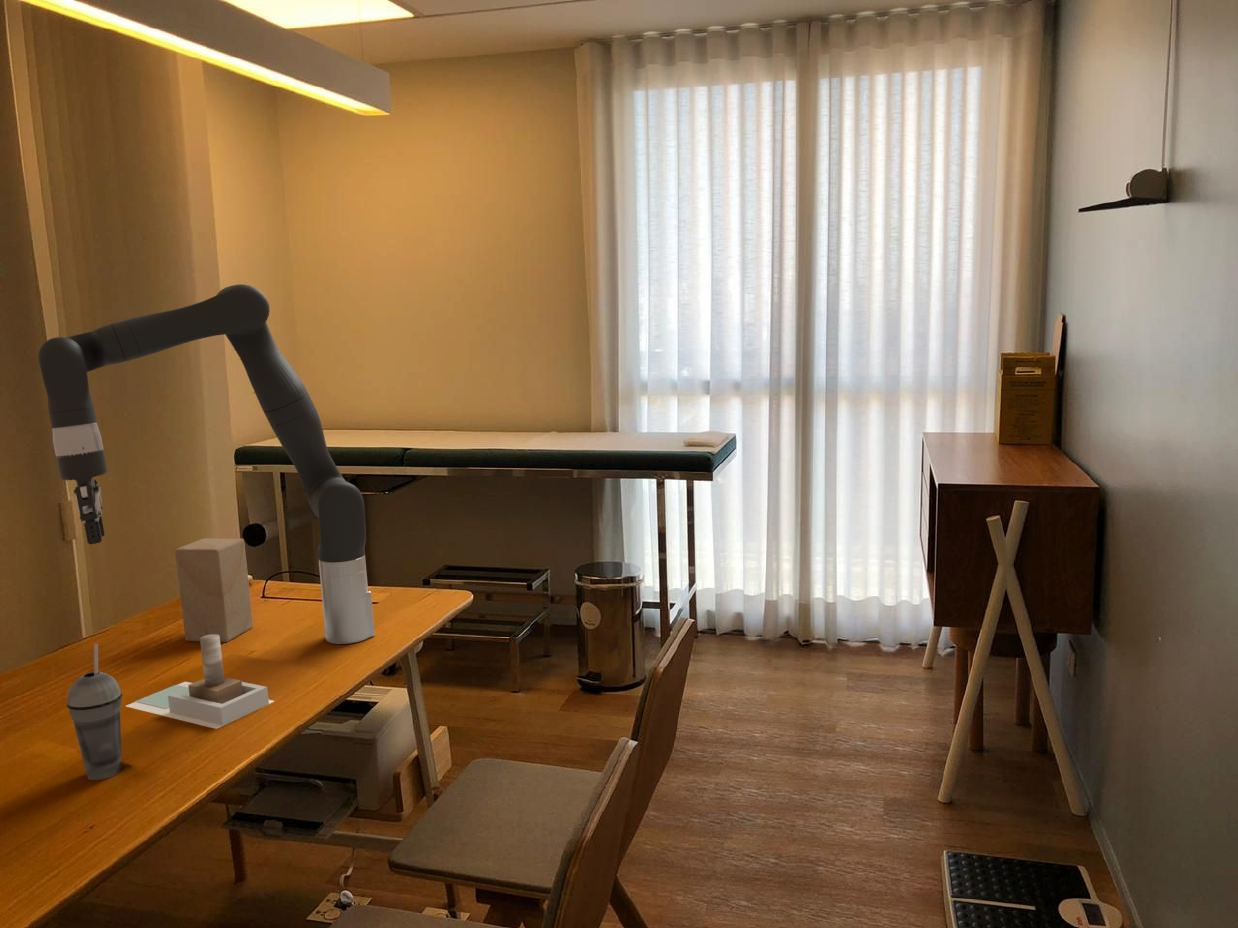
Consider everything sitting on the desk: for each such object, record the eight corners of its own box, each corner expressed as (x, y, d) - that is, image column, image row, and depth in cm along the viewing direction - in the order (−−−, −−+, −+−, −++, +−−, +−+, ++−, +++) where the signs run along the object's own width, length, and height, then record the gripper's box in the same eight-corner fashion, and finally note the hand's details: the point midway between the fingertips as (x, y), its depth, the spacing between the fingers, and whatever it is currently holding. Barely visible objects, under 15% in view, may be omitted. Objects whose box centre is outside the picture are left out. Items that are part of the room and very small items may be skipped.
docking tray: (275, 709, 166) (273, 684, 165) (217, 737, 156) (214, 710, 155) (186, 689, 177) (183, 665, 176) (125, 714, 166) (122, 689, 166)
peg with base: (243, 703, 164) (236, 635, 162) (219, 714, 160) (211, 644, 158) (215, 696, 168) (208, 630, 166) (190, 707, 163) (182, 639, 161)
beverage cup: (90, 763, 148) (73, 637, 145) (139, 759, 149) (123, 634, 145) (67, 786, 141) (49, 654, 138) (119, 782, 141) (102, 651, 138)
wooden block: (227, 642, 202) (216, 549, 199) (184, 641, 204) (173, 549, 201) (254, 627, 212) (244, 537, 209) (213, 626, 214) (203, 537, 211)
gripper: (100, 449, 167) (118, 541, 169) (105, 445, 180) (121, 531, 182) (51, 456, 164) (69, 550, 166) (59, 452, 177) (76, 539, 179)
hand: (96, 540), depth 174 cm, fingers open, 8 cm apart
